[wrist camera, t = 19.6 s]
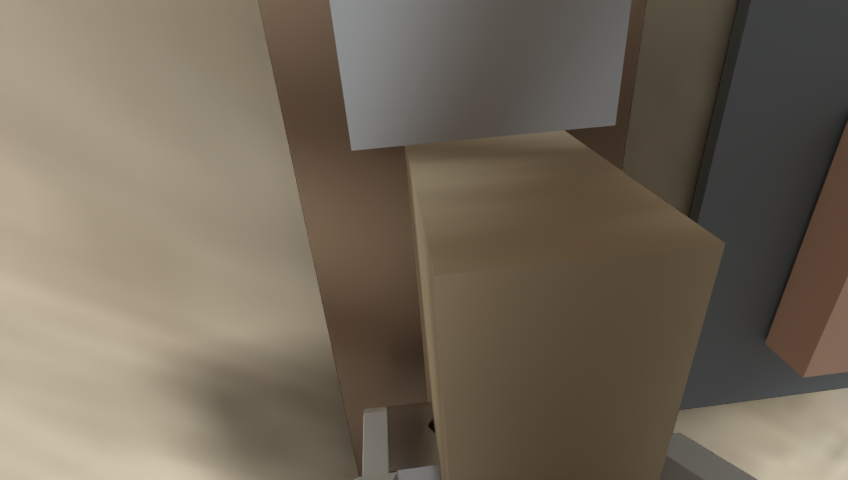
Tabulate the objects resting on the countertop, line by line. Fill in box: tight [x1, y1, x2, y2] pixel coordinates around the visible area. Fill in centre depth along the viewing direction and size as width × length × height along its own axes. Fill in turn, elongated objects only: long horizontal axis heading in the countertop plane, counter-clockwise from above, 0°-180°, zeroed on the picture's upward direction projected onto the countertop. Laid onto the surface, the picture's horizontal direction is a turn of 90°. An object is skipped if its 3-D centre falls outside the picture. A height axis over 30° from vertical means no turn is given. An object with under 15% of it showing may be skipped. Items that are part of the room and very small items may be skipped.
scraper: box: [329, 0, 725, 480], centre depth 9 cm, size 5×16×5 cm, turn 4°
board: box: [258, 0, 647, 477], centre depth 14 cm, size 20×8×1 cm, turn 4°
